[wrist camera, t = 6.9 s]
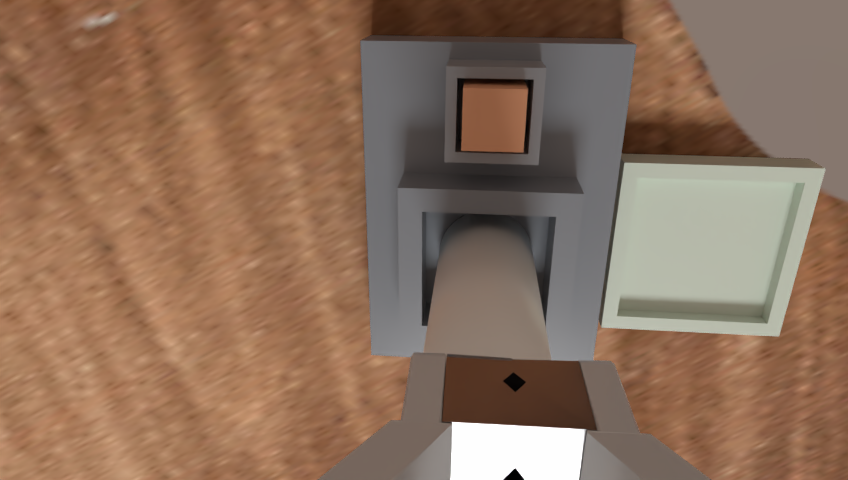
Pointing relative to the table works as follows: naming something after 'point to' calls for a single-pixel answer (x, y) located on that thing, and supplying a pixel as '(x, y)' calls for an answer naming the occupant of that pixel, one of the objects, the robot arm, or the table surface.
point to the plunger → (494, 115)
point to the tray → (707, 242)
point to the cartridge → (487, 292)
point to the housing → (491, 172)
